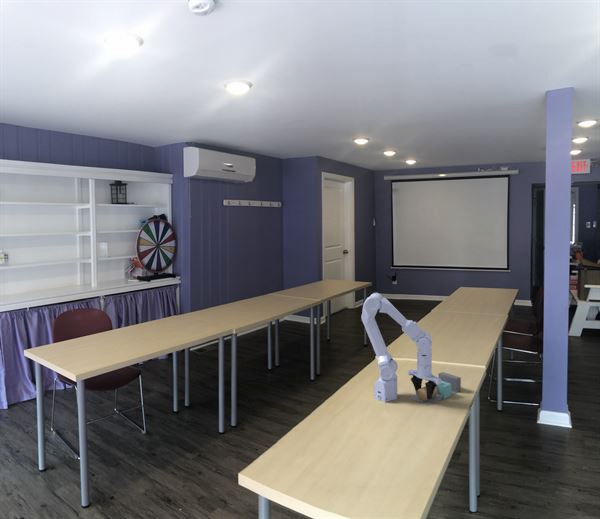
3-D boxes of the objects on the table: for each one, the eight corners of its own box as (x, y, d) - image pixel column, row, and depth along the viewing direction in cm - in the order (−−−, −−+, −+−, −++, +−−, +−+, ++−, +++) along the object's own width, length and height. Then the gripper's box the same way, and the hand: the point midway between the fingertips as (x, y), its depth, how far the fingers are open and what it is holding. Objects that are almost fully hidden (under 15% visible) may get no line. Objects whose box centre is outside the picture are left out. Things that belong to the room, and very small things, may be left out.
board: (427, 407, 178) (427, 405, 178) (407, 399, 186) (407, 397, 186) (457, 394, 190) (457, 393, 190) (437, 387, 198) (437, 386, 198)
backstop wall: (456, 394, 191) (456, 379, 190) (438, 387, 198) (438, 373, 197) (460, 392, 192) (460, 377, 192) (442, 386, 200) (442, 372, 199)
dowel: (426, 402, 180) (426, 390, 180) (416, 398, 184) (416, 387, 183) (438, 397, 185) (438, 386, 184) (428, 393, 189) (428, 382, 188)
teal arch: (443, 398, 184) (444, 386, 184) (427, 392, 191) (427, 381, 190) (451, 395, 187) (451, 383, 187) (434, 390, 194) (435, 378, 193)
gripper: (445, 366, 178) (445, 399, 179) (416, 357, 190) (415, 389, 191) (434, 370, 174) (434, 404, 175) (405, 361, 185) (404, 393, 187)
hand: (424, 396), depth 183 cm, fingers closed on dowel, 5 cm apart
